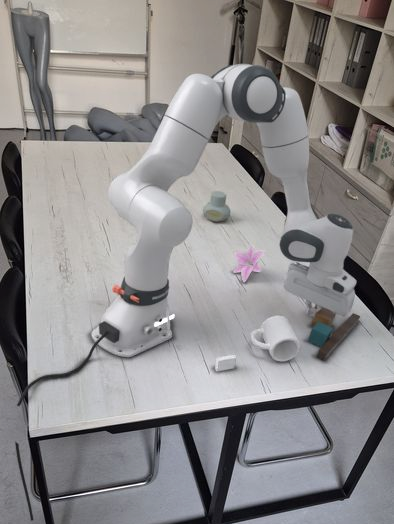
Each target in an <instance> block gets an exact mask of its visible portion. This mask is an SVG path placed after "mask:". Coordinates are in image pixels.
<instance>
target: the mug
mask: <svg viewBox="0 0 394 524" xmlns="http://www.w3.org/2000/svg"><path fill="white" fill-rule="evenodd" d="M256 335H257V336H258V335H261V336H262V339H263V341H264V342H261V341H259V340H257V339H256V337H255V336H256ZM249 339H250V341H251V343H252V344H253V345H254V346H256V347H257V348H259V349H262V350H267V351H268V352H269V355H270V357H271V358H272V359H273V360H274V361H277V362H287V361H290V360H293V359H294V358H295V357H296V356H298V354H299V353H300V351H301V343H300V341H299V339H298V337H297V335H296V333H295V331H294V329H293V327H292V325H291V324H290V322H289V319H287V318H286V317H285V316H283V315H273V316H270V317H268V318H267V319H265V320H264V321H263V323H262V324H261V326H260V328H257V329H254V330H252V331H251V332H250V334H249Z"/></svg>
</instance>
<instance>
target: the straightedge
mask: <svg viewBox="0 0 394 524" xmlns="http://www.w3.org/2000/svg"><path fill="white" fill-rule="evenodd" d="M360 319H361V315H359V314H357V313H354V312H352V313H351V315H350V316H349V317H347V319H346V320H345V321H344V322H343V323H342V324H341V325H340V326H339V328H337V330H336V331H334V333H333V334H331V336H330V338H329V340H328V341H327V342H326V343H325V344H324V345H323V346H322V347H319V349H318V351H317V354H316V358H317V359H319V360H322V361H324V362H325V361H326V360H327V359H328V357H330V355H331V354H332V353H333V352H334V351H335V350H336V348H337V347H338V346H339V345H340V344H341V343H342V341H343V340H345V338H346V337H347V336H348V335H349V334H350V333H351V331H352V330H354V328H355V327H356V326H357V325H358V323H359V321H360Z"/></svg>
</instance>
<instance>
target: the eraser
mask: <svg viewBox="0 0 394 524" xmlns="http://www.w3.org/2000/svg"><path fill="white" fill-rule="evenodd" d="M236 362H237V357H236V355H235V354H230V355H224V356H219V357H216V360H215V366H214V369H215V371H216V372H223V371H228V370H233V369H235V366H236Z"/></svg>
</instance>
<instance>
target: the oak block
mask: <svg viewBox="0 0 394 524" xmlns="http://www.w3.org/2000/svg"><path fill="white" fill-rule="evenodd" d="M336 315H337V314H336V313H334V312H330V311H328V310H326V309H324V308H322V309H321V310H319V311H318V312H317V313H316V314H315V316H313V318H312V323H311V326H310V327H312V328H313V327H314V326H315V325H316V324H317V322H320V323H323V324H325V325H327V326H330V327H332V325H333V323H334V319H335V318H336Z"/></svg>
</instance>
